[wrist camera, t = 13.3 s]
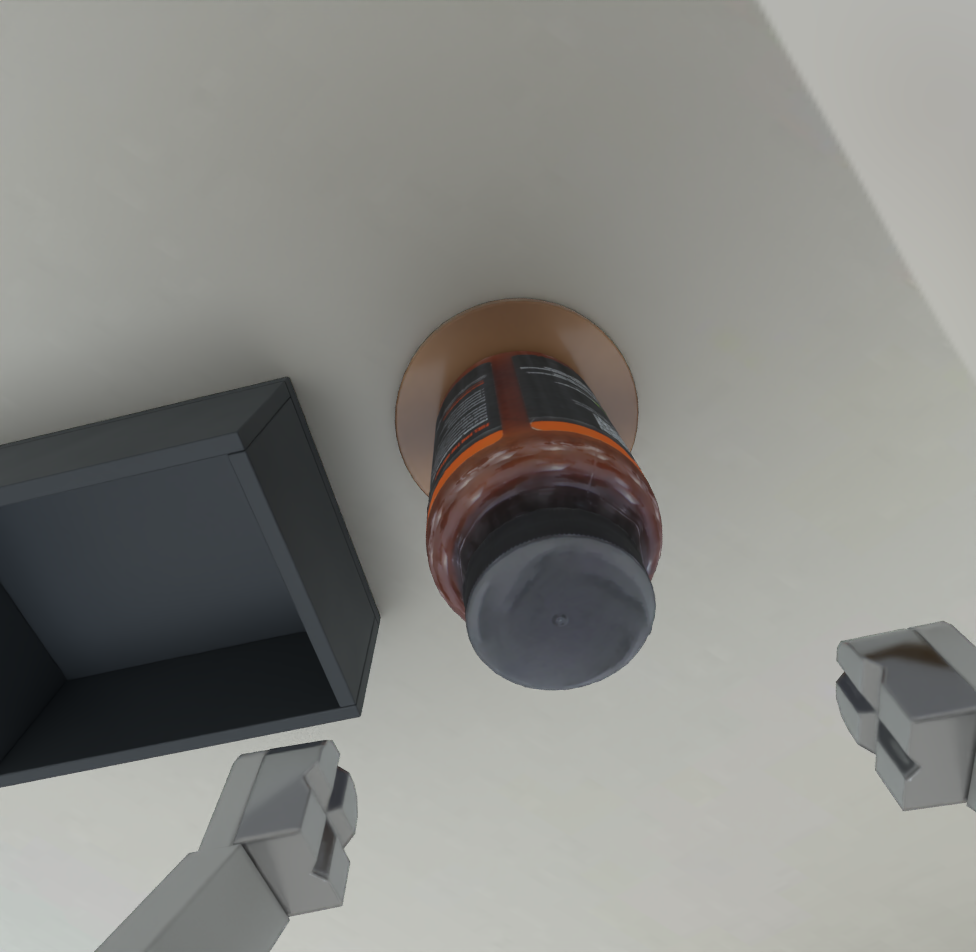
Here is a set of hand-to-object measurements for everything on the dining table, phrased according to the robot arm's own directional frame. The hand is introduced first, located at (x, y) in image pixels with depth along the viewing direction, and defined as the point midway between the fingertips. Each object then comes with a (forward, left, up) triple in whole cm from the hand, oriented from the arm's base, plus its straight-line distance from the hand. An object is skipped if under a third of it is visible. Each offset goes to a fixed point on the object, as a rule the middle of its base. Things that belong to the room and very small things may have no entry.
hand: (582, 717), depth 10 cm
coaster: (0, 0, -15) cm, 15 cm away
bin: (+2, -15, -15) cm, 21 cm away
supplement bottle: (0, 0, -14) cm, 14 cm away
